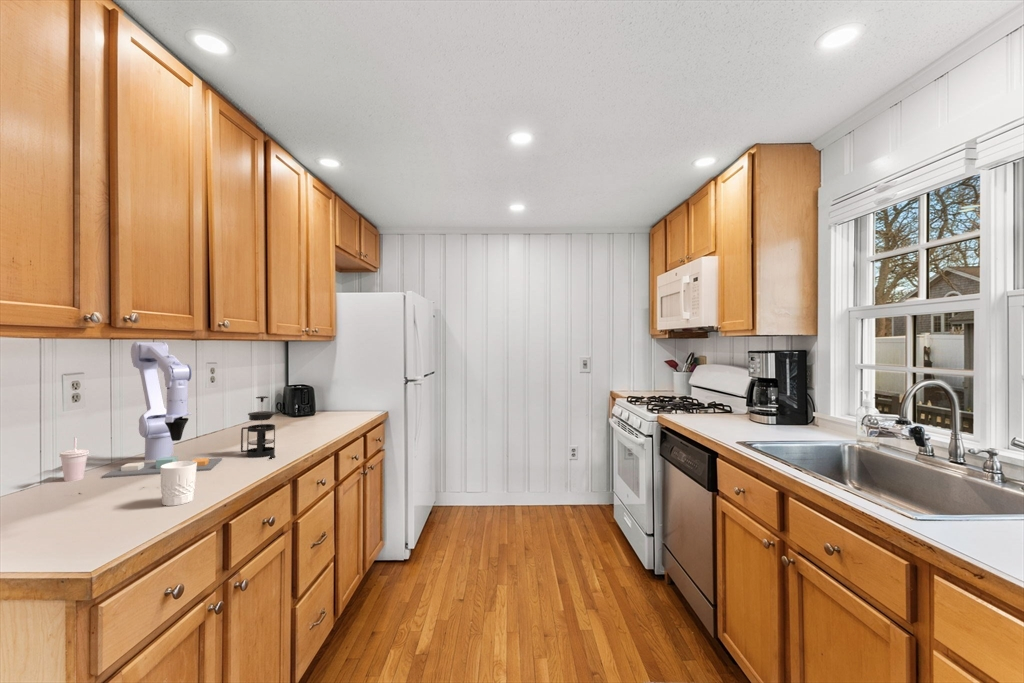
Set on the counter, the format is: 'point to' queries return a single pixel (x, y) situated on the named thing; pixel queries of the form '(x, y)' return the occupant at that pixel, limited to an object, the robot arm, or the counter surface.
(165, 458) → the teal button
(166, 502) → the white cup
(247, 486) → the counter surface
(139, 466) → the white button
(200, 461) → the orange button
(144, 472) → the button panel
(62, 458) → the smoothie
